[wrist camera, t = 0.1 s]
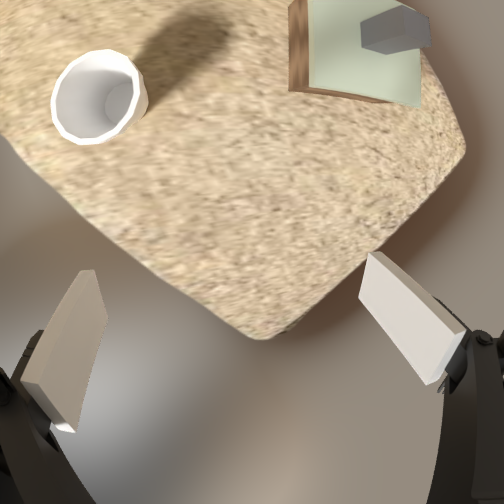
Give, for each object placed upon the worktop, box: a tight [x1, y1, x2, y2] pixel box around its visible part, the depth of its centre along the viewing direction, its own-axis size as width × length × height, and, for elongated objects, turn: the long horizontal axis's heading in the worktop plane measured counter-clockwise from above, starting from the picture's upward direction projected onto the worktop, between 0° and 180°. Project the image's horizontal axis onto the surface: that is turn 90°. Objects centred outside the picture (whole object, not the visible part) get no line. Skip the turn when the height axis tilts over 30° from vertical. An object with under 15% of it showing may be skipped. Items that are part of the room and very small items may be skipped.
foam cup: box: [50, 49, 149, 145], centre depth 25 cm, size 10×9×13 cm
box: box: [288, 0, 393, 103], centre depth 28 cm, size 14×14×9 cm
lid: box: [308, 0, 432, 108], centre depth 20 cm, size 15×15×10 cm
